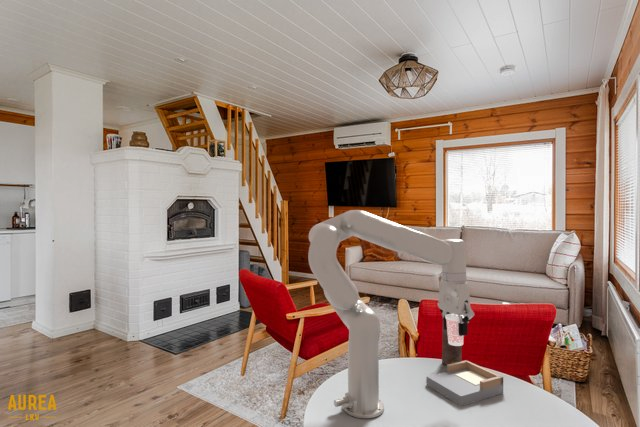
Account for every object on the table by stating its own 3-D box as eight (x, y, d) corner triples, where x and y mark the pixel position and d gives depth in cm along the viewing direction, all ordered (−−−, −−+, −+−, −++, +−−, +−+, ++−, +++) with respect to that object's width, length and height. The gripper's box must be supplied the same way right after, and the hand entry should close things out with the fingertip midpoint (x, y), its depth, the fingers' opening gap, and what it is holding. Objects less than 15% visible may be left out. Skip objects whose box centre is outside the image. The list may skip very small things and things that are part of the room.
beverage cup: (441, 342, 125) (440, 299, 125) (456, 339, 127) (455, 297, 127) (454, 348, 119) (453, 303, 119) (469, 345, 122) (468, 301, 122)
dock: (461, 405, 119) (460, 388, 119) (426, 384, 134) (426, 369, 134) (503, 393, 127) (503, 376, 127) (466, 374, 142) (466, 360, 142)
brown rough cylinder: (459, 360, 155) (459, 312, 155) (464, 368, 148) (464, 317, 148) (440, 360, 156) (439, 311, 156) (444, 367, 148) (443, 316, 148)
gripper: (427, 274, 130) (428, 326, 130) (465, 282, 114) (466, 342, 114) (444, 272, 133) (445, 323, 133) (483, 280, 117) (485, 338, 117)
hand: (455, 331), depth 123 cm, fingers closed on beverage cup, 6 cm apart
